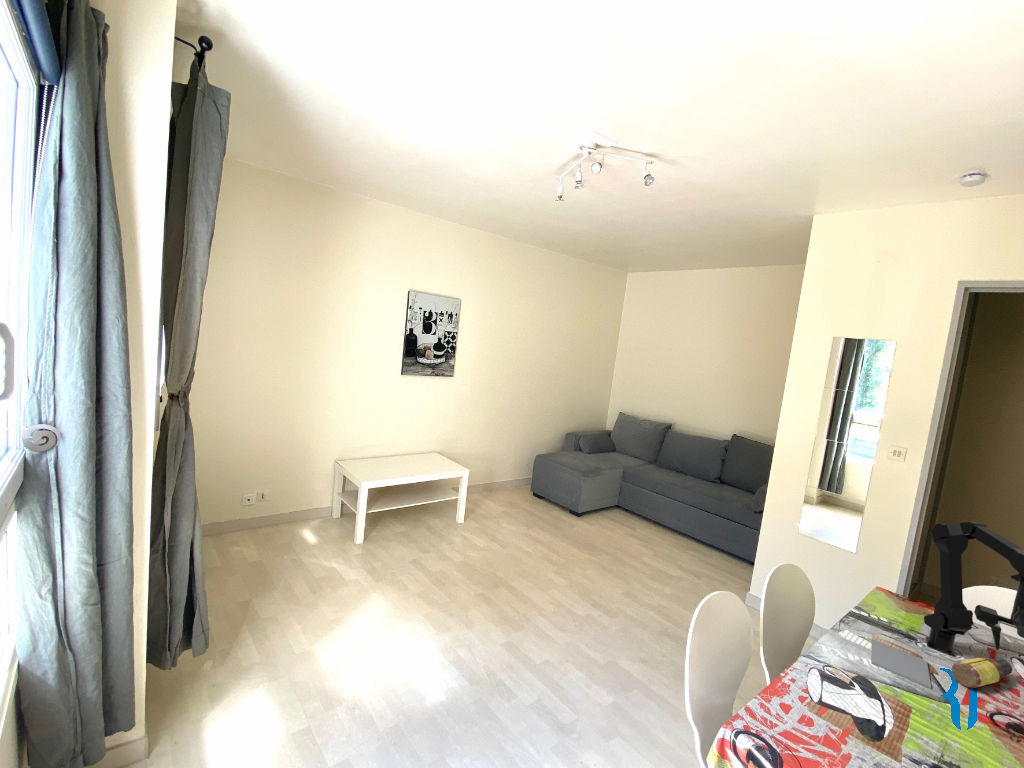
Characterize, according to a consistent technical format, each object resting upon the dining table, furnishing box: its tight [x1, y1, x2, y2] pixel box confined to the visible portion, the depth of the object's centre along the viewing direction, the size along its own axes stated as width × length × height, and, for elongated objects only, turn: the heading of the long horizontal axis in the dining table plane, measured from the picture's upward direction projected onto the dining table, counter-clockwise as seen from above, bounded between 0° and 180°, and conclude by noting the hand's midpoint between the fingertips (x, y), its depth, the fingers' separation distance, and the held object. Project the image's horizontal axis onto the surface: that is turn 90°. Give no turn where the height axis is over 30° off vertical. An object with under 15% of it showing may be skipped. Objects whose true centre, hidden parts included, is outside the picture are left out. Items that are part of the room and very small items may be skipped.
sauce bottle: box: [950, 656, 1013, 688], centre depth 130 cm, size 7×6×20 cm
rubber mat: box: [870, 638, 932, 690], centre depth 134 cm, size 15×13×1 cm
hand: (1017, 657), depth 124 cm, fingers open, 8 cm apart
